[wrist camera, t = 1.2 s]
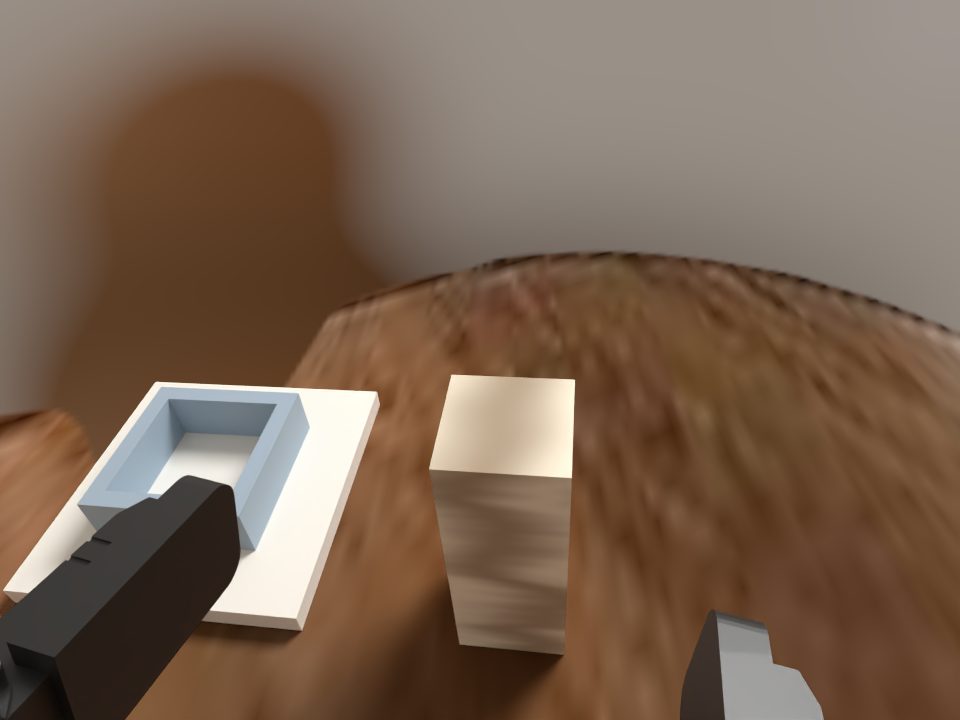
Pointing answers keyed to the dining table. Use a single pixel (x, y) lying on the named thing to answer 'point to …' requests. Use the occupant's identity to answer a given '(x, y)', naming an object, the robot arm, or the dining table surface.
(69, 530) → the sleeve holder
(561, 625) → the birch post
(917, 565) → the dining table surface
